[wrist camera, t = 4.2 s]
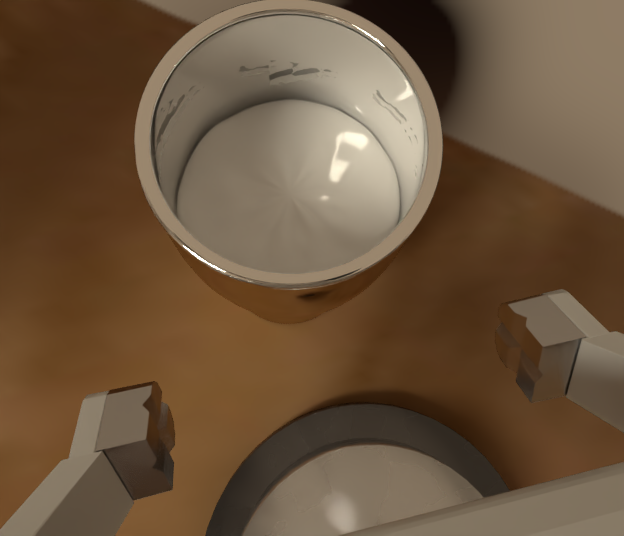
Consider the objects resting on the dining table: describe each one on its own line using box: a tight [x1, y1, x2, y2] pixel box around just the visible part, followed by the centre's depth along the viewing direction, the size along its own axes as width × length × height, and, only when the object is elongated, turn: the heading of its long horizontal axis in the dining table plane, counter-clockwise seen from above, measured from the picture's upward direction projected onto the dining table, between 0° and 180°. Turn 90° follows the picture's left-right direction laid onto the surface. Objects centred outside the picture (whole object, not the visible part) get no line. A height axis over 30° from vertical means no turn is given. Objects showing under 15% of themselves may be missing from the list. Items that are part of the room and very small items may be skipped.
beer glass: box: [134, 0, 443, 324], centre depth 18 cm, size 7×7×15 cm
